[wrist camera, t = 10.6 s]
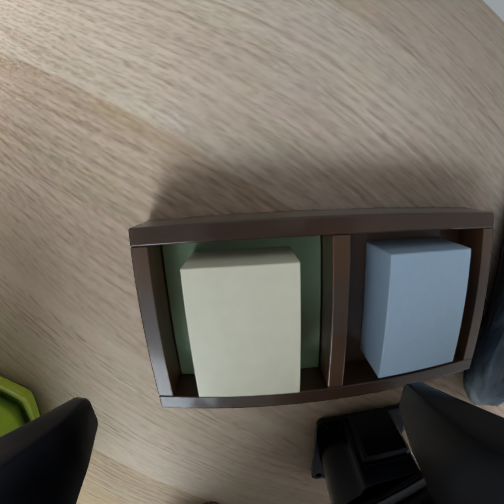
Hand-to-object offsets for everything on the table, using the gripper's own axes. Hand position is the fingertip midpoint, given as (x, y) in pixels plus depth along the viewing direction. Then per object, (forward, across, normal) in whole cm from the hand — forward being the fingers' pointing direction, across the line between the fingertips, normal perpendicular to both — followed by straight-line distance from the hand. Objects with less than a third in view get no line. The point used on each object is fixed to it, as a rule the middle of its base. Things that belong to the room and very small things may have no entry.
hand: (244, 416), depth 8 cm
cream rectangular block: (+8, 0, 0) cm, 8 cm away
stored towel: (+8, -8, 0) cm, 12 cm away
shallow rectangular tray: (+9, -4, 0) cm, 10 cm away
